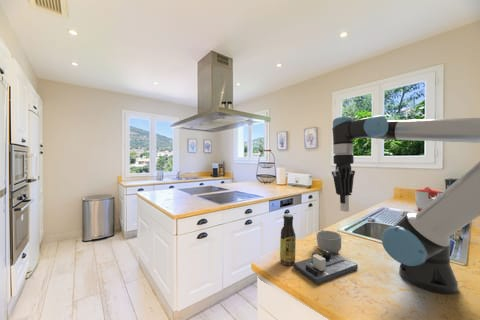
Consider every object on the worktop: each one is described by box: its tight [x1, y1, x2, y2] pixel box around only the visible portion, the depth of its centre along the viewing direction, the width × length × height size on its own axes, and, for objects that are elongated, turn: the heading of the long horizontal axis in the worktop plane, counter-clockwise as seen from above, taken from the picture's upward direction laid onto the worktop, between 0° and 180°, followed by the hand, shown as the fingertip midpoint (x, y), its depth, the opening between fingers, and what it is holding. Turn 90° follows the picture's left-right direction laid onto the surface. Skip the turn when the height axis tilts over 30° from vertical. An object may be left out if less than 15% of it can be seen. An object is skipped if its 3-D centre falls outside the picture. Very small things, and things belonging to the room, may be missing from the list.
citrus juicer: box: [414, 186, 442, 212], centre depth 164 cm, size 16×17×20 cm
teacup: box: [315, 229, 342, 254], centre depth 96 cm, size 14×11×8 cm
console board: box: [292, 250, 359, 286], centre depth 80 cm, size 12×22×4 cm, turn 116°
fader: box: [313, 255, 326, 271], centre depth 76 cm, size 4×2×4 cm, turn 26°
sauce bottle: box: [279, 214, 297, 266], centre depth 85 cm, size 6×6×20 cm
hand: (344, 210), depth 84 cm, fingers closed
